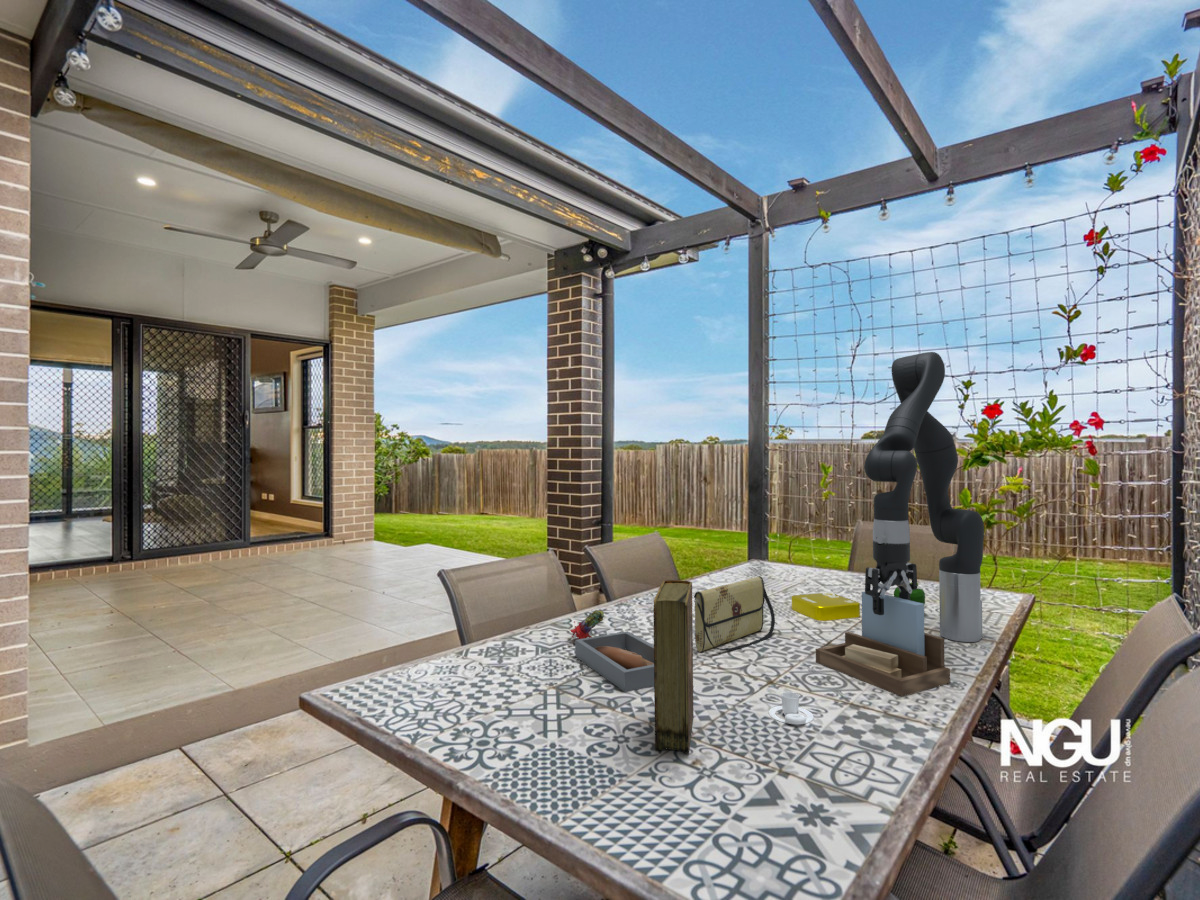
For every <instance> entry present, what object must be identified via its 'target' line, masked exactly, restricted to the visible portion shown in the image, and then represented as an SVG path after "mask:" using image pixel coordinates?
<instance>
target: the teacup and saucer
mask: <svg viewBox="0 0 1200 900" xmlns="http://www.w3.org/2000/svg"><path fill="white" fill-rule="evenodd" d="M799 702H800V695H799V694H797V692H792V691H785V692H782V693H781V705H776V706H773V707H771V708H770V709H769V711H768V714H769V716H770V717H771V718H772V719H773V720H775V721H777V722H780V723H783V724H789V725H799V726H800V725H805V724H809V723H810V722H813V721H814V719H815V718H814V714H813V713H812V712H810V711H809V710H807V709H805V708H803V707H800V705H799V704H800V703H799ZM779 710H782V713H783V714H784V719H783V718H781V717H779V716H777V715H776V712H778V711H779ZM798 712H801V713H803V714H805V715H803V714H800V713H798Z"/></svg>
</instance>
